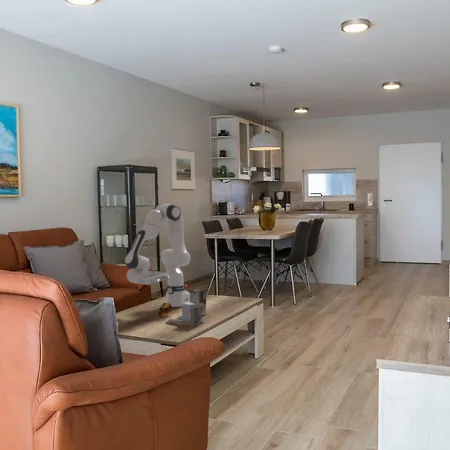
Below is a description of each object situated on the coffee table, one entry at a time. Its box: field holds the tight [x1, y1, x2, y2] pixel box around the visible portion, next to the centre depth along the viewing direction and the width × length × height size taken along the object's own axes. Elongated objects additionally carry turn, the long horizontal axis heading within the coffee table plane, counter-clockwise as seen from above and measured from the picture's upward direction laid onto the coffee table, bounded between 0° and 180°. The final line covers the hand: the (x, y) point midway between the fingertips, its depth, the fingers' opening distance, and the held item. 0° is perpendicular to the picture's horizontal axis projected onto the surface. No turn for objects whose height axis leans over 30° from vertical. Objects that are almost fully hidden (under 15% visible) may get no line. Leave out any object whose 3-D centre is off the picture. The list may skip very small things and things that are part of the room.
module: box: [181, 302, 195, 322], centre depth 308 cm, size 5×6×12 cm
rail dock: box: [165, 306, 204, 329], centre depth 310 cm, size 14×18×11 cm
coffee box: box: [189, 288, 207, 316], centre depth 330 cm, size 9×6×16 cm
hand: (163, 279), depth 323 cm, fingers open, 8 cm apart
